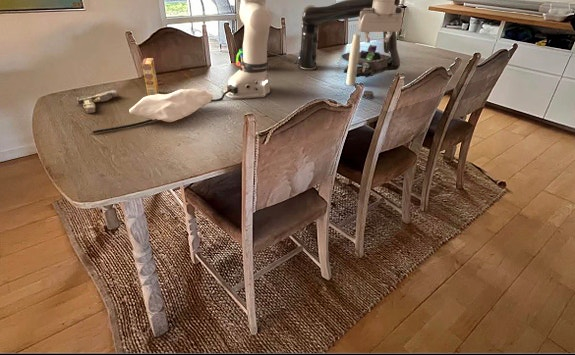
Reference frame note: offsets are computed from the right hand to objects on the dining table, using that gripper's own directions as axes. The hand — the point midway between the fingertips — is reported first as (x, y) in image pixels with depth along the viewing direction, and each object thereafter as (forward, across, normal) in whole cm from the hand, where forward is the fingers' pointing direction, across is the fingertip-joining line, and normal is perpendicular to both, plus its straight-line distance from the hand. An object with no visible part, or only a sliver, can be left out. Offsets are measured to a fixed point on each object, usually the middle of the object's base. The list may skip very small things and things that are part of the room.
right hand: (350, 72), depth 187 cm
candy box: (+89, -38, +6) cm, 97 cm away
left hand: (+6, +18, -19) cm, 27 cm away
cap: (+6, +18, +4) cm, 19 cm away
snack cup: (+29, -51, +6) cm, 59 cm away
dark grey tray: (-48, -29, +6) cm, 57 cm away
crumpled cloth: (+91, -13, +6) cm, 92 cm away
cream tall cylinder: (-1, 0, +6) cm, 6 cm away
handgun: (+112, -39, +6) cm, 118 cm away
